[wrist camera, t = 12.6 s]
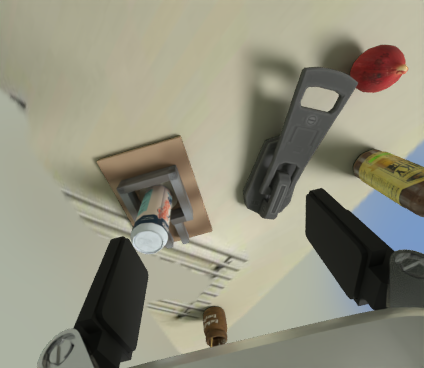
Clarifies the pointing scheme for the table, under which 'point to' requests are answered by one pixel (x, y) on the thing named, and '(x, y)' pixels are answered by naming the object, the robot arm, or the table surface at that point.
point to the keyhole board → (159, 175)
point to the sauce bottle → (393, 178)
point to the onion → (378, 68)
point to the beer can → (152, 220)
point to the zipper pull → (294, 143)
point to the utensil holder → (215, 326)
